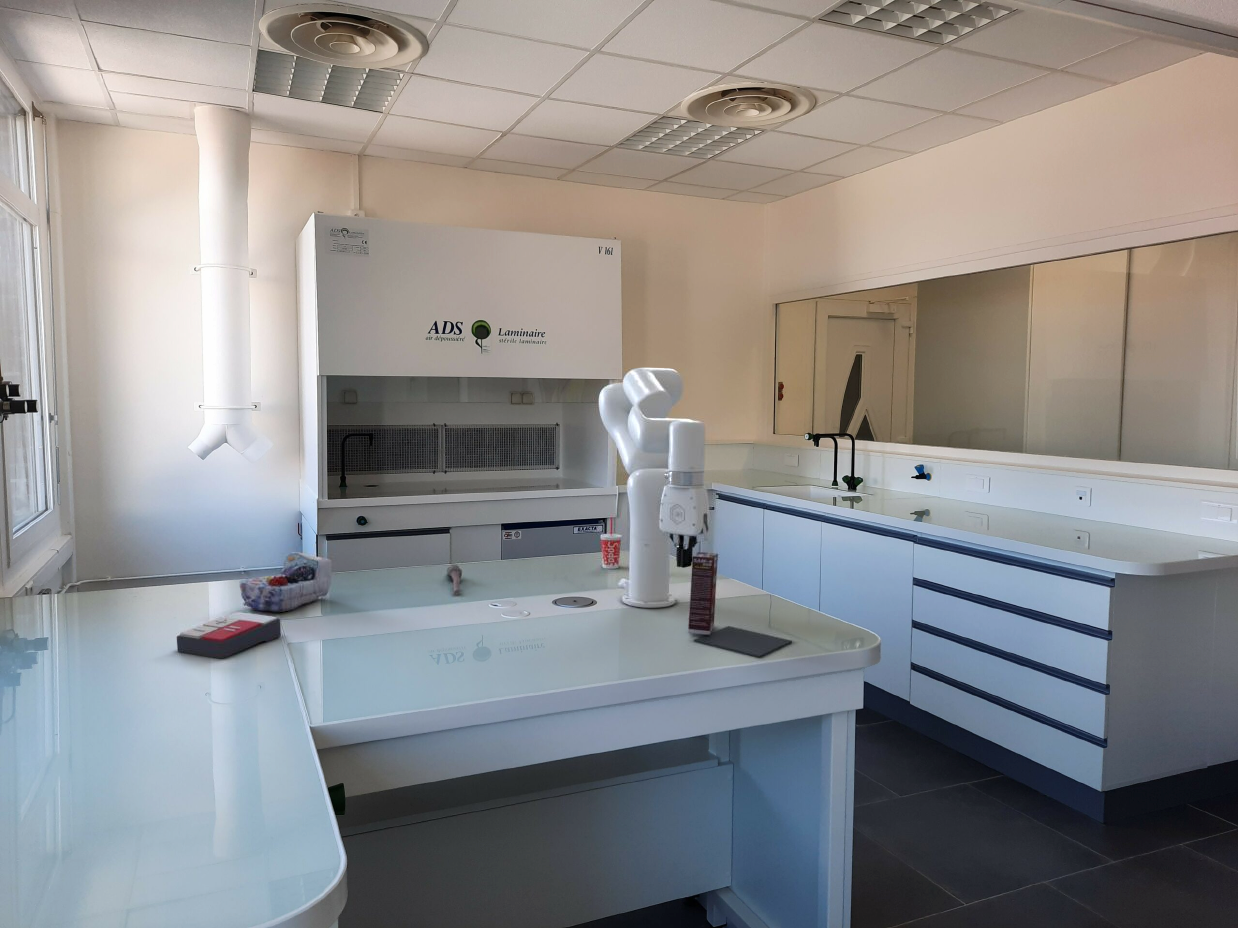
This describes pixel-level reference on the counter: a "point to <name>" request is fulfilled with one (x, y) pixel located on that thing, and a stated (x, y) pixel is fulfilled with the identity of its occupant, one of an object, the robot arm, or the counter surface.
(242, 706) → the counter surface
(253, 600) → the toy bassinet
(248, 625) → the calculator
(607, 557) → the beverage cup
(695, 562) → the supplement box
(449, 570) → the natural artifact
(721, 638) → the mat
